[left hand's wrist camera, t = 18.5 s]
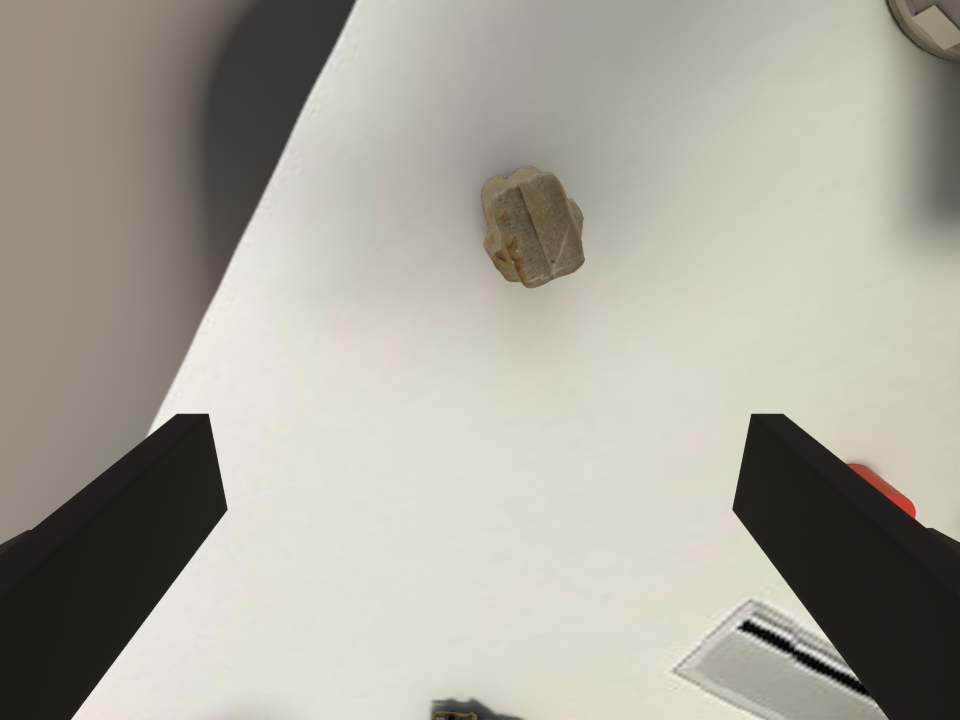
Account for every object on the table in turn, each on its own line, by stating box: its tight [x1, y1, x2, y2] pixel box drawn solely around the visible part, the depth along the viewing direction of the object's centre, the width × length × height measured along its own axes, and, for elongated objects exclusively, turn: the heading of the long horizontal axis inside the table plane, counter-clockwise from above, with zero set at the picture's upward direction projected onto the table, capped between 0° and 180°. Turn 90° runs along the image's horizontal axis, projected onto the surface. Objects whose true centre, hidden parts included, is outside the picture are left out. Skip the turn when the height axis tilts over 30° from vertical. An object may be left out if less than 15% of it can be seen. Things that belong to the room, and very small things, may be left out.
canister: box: [848, 464, 916, 519], centre depth 44 cm, size 5×5×5 cm
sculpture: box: [481, 167, 585, 288], centre depth 31 cm, size 6×7×15 cm
